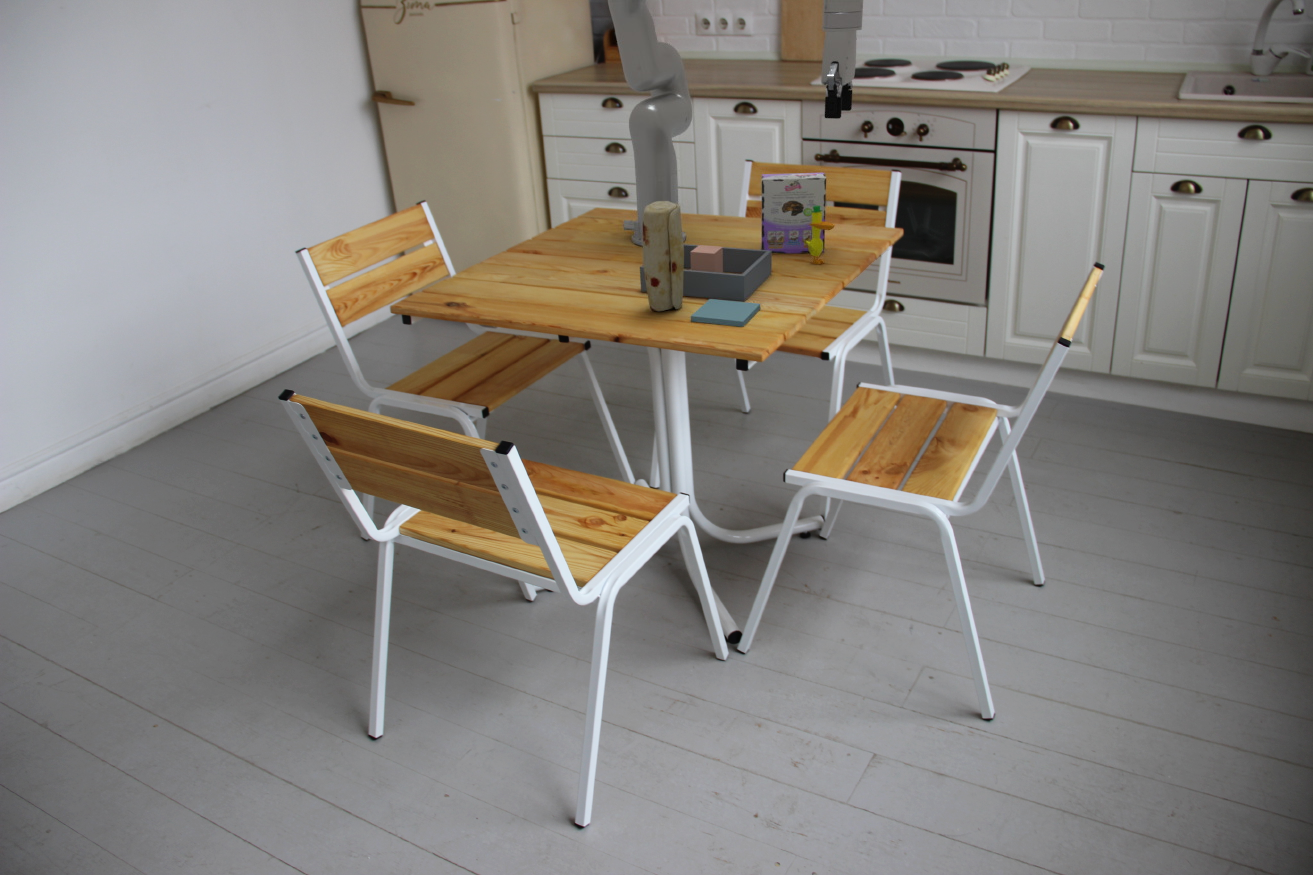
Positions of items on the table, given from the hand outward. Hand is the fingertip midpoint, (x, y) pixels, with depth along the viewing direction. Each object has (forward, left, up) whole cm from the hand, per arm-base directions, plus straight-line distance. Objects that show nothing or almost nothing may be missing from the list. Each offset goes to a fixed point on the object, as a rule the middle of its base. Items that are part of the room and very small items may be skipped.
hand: (838, 114), depth 195 cm
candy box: (-10, +4, -30) cm, 32 cm away
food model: (-22, -40, -30) cm, 54 cm away
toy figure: (-2, -4, -30) cm, 30 cm away
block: (-20, -23, -30) cm, 43 cm away
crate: (-20, -23, -30) cm, 43 cm away
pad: (-10, -40, -30) cm, 51 cm away
